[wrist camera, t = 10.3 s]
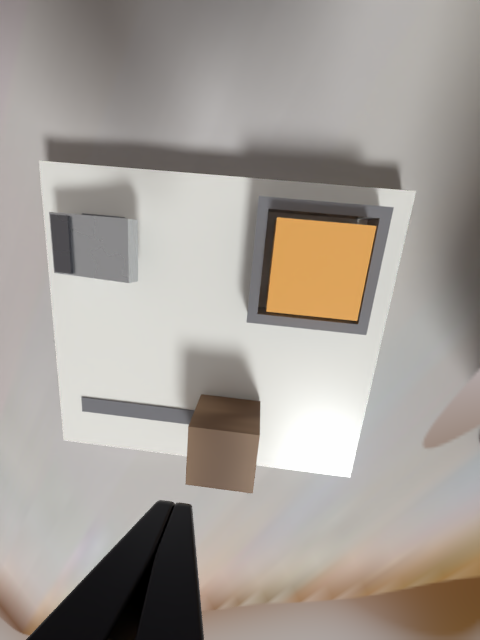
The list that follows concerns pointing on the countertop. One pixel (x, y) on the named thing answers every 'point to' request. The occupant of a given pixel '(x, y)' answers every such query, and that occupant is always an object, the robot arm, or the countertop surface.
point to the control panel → (215, 314)
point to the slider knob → (223, 443)
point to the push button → (318, 268)
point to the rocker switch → (95, 246)
